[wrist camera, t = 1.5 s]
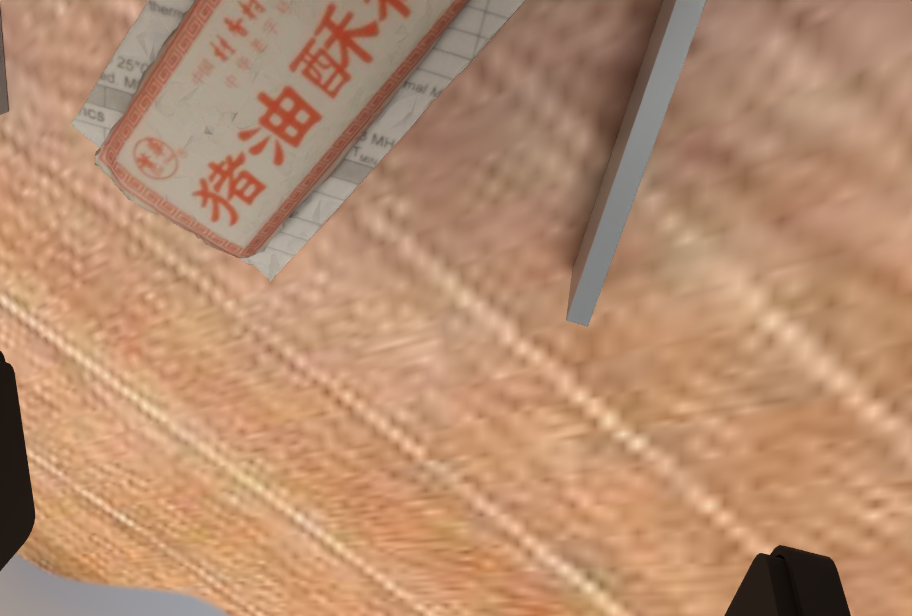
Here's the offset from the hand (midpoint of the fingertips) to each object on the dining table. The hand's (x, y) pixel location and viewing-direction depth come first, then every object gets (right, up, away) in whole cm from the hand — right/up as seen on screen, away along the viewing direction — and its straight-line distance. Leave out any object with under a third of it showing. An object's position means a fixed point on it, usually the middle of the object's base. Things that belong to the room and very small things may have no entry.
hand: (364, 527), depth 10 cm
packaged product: (-4, +13, +20) cm, 24 cm away
